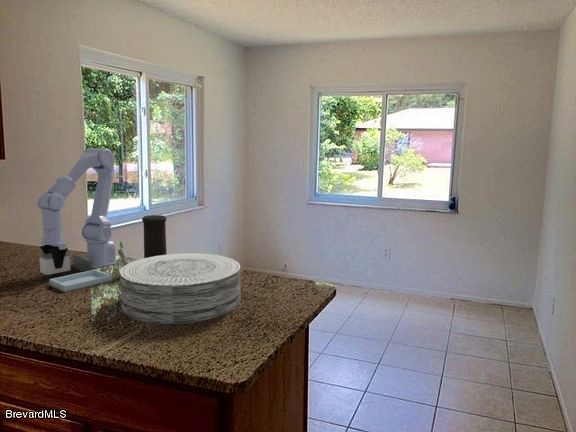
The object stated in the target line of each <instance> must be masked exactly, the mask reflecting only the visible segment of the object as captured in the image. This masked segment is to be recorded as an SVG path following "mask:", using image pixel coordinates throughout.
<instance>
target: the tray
mask: <svg viewBox="0 0 576 432" xmlns="http://www.w3.org/2000/svg"><path fill="white" fill-rule="evenodd" d="M110 282H111V283H112V282H113V275H112V274H109V273H107V272H104V271H102V270H99V269H92V270H91V271H86V272H82V271H80V272H77V273H73V274H72V273H71V274H68V275H64V276H63V275H62V276H59V277H54V278H49V282H48V283H49V286H51V287H53V288H55V289H57V290H58V291H61V292H64V293H68V292H72V291H77V290H81V289H85V288H91V287H94V286H99V285H103V284H107V283H110Z"/></svg>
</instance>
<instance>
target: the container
mask: <svg viewBox="0 0 576 432" xmlns="http://www.w3.org/2000/svg"><path fill="white" fill-rule="evenodd" d="M141 221H142V223H143V259H144V258H148V257H154V256H160V255H168V254H167V235H166V234H167V233H166V231H167V230H166V229H167V228H166V227H167V225H166V222H167V217H166V216H165V215H161V214H153V215H152V214H151V215H145V216H143V217H141Z"/></svg>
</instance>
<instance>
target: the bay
mask: <svg viewBox="0 0 576 432" xmlns="http://www.w3.org/2000/svg"><path fill="white" fill-rule="evenodd" d="M72 264H73V265H71V264H70V270H73V269H74V270H77V271H80V272H86V271H91V270H93V268H92V260H89V259H88V258H86V257H83V256H81V255H77V254H72Z"/></svg>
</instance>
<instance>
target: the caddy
mask: <svg viewBox="0 0 576 432" xmlns="http://www.w3.org/2000/svg"><path fill="white" fill-rule="evenodd" d="M38 256H39V258H38V259H39V268H40V269H39V271H40V273H42V274H44V275H46V276H47V275H53V274H59V273H63V272H69V271H71V269H70V266H71V258H70V253H69V252H68V251H67V252H66V254H65V257H64V261H63V266H62V268H58V269H55V266H54V261H53V257H52V255H51V253H49V254H44V253H43V254H39V255H38Z"/></svg>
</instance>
